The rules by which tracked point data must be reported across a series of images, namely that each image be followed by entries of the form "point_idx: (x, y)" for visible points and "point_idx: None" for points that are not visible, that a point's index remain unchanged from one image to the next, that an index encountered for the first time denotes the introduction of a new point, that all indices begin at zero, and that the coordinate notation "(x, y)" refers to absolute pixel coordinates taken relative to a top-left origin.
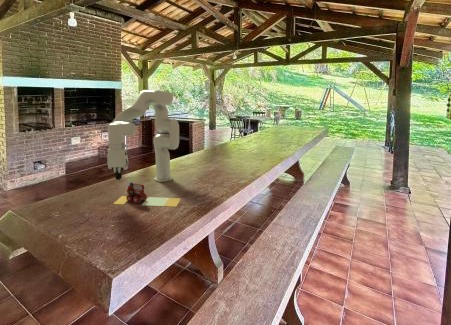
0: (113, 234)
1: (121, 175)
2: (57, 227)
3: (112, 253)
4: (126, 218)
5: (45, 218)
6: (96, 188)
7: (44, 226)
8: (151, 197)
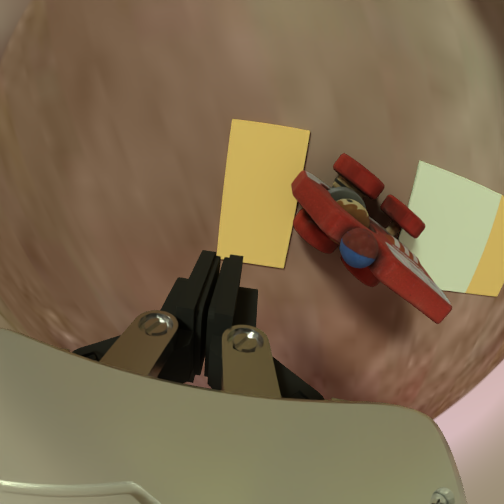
0: None
1: (255, 306)
2: None
3: None
4: (320, 386)
5: None
6: (48, 22)
7: None
8: (434, 171)
